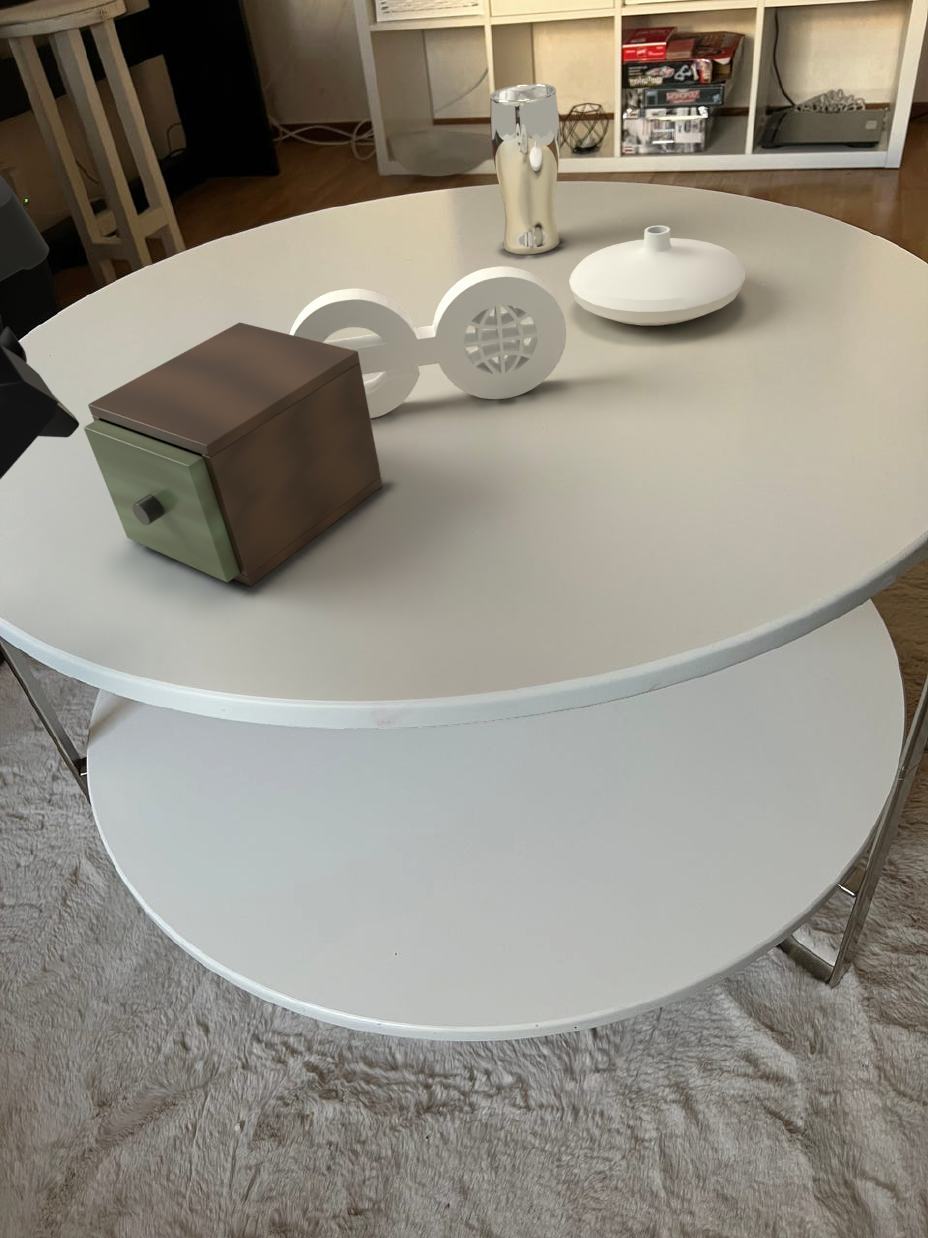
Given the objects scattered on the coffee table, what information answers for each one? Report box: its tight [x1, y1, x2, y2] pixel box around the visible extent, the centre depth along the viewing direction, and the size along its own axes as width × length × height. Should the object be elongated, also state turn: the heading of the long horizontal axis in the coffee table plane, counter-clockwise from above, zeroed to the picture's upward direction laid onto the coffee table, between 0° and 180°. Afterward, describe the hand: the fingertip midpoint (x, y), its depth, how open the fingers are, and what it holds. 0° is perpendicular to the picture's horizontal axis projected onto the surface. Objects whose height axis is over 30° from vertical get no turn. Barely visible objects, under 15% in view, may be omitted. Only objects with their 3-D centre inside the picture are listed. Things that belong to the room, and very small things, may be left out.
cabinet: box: [87, 322, 383, 587], centre depth 68 cm, size 14×12×11 cm
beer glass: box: [489, 83, 561, 256], centre depth 101 cm, size 7×7×15 cm
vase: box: [568, 225, 746, 326], centre depth 88 cm, size 16×16×7 cm
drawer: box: [83, 420, 240, 583], centre depth 66 cm, size 14×10×9 cm
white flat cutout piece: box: [289, 265, 567, 419], centre depth 78 cm, size 22×2×10 cm, turn 97°
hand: (72, 427), depth 55 cm, fingers closed
